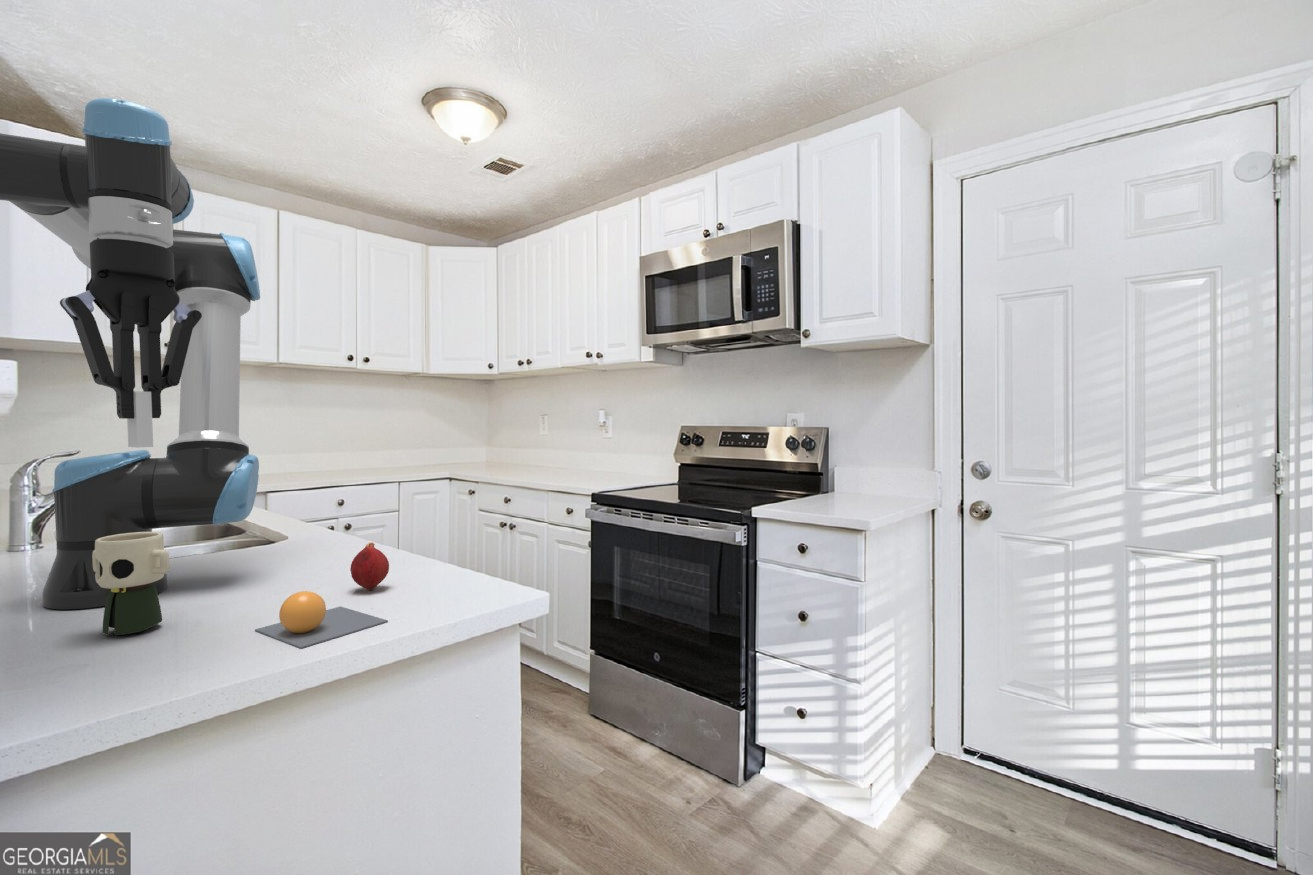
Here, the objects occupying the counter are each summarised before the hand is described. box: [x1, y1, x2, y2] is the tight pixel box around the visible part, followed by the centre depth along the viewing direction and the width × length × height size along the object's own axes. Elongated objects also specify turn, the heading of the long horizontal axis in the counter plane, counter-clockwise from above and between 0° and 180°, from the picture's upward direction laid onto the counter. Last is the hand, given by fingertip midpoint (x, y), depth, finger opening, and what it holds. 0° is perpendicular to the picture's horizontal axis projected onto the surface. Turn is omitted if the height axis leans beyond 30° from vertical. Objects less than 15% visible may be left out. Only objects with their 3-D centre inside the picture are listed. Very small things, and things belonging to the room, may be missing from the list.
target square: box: [254, 605, 389, 649], centre depth 87 cm, size 12×12×1 cm
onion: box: [350, 541, 390, 591], centre depth 104 cm, size 6×6×8 cm
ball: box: [278, 590, 327, 633], centre depth 84 cm, size 6×6×6 cm
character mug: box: [92, 531, 170, 636], centre depth 85 cm, size 11×7×13 cm, turn 85°
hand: (140, 446), depth 74 cm, fingers closed
